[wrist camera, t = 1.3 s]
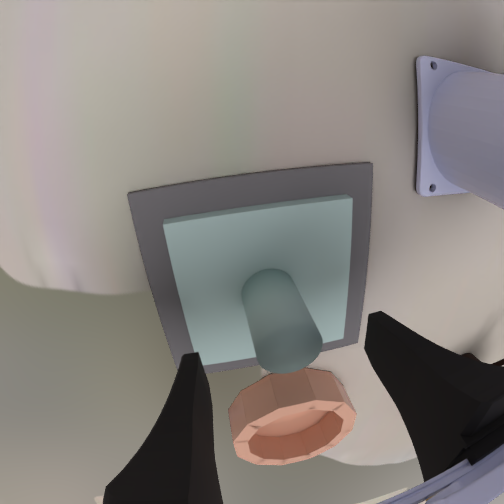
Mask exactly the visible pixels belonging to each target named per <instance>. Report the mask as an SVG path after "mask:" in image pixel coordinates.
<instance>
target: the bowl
mask: <svg viewBox="0 0 504 504" xmlns="http://www.w3.org/2000/svg"><path fill="white" fill-rule="evenodd" d="M228 412H229V419H230V426H231V432H232V438H233V443H234V447H235V450H236V453H237V456H238V457H240V458H242V459H245V460H247V461H249V462H251V463H254V464H259V465H284V464H288V463H293V462H298V461H302V460H306V459H310V458H312V457H314V456H316V455H318V454H320V453H322V452H324V451H326V450H328V449H330V448H332V447H334V446H336V445H337V444H338V443H339V442H340V441H341V440H342V439H343V438H344V437H345V436H346V435H347V434H348V433H349V432H351V431H352V429H353V425H354V422H355V418H356V411H355V409H354V407H353V405H352V403H351V401H350V399H349V397H348V395H347V393H346V391H345V389H344V387H343V385H342V384H341V383H340V382H339V381H338V379H337V378H336V377H335V376H334V375H333V374H332V373H331V372H328V371H321V370H315V369H309V368H303V369H300V370H298V371H295V372H291V373H285V374H278V373H275V374H270V375H268V376H266V377H264V378H263V379H261V380H259V381H257V382H256V383H254V384H252V385H250V386H248V387H247V388H245V389H243V390H241V391H240V393H239V394H238V396H237V397H236V399H235V400H234V402H233V403H232V405H231V406H230V408H229V409H228Z"/></svg>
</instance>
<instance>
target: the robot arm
mask: <svg viewBox="0 0 504 504" xmlns="http://www.w3.org/2000/svg"><path fill="white" fill-rule="evenodd" d="M430 63H432V65H433V69H432V68H431V66H430ZM416 68H417V86H418V163H417V182H416V191H417V193H418V194H419V195H421V196H424V197H427V196H438V195H448V194H459V193H473V194H475V195H477V196H479V197H481V198H483V199H485V200H487V201H489V202H491V203H493V204H495V205H496V206H498V207H500V208H502V209H504V74H497V73H492V72H489V71H486V70H482V69H479V68H475V67H472V66H468V65H464V64H460V63H457V62H452V61H448V60H444V59H439V58H435V57H430V56H419V57H418V58H417V60H416ZM431 184H432V187H431V189H430V190H429V187H430V185H431ZM364 349H365V351H366V354H367V356H368V358H369V361H370V363H371V365H372V367H373V369H374V370H375V372H376V374H377V375H378V377H379V379H380V380H381V382H382V383H383V385H384V387H385V388H386V390H387V391H388V393H389V395H390V396H391V398H392V399H393V401H394V403H395V404H396V406H397V408H398V410H399V412H400V414H401V416H402V419H403V421H404V423H405V425H406V428H407V430H408V433H409V435H410V438H411V440H412V443H413V446H414V448H415V451H416V454H417V457H418V460H419V464H420V467H421V471H422V474H423V478H424V483H422V484H420V485H418V486H416V487H414V488H412V489H409V490H408V491H405V492H403V493H401V494H399V495H396V496H394V497H392V498H389V499H387V500H384V501H382V502H380V503H377V504H418V503H420V502H422V501H424V500H426V499H428V498H430V497H431V498H430V499H428V500H427V501H426V503H425V504H488V503H489V502H491V501H492V500H494V499H495V498H496V497H498V496H499V495H500V494H501V493H503V492H504V367H502V366H496V365H492V364H487V363H483V362H480V361H476V360H473V359H470V358H467V357H464V356H461V355H459V354H456V353H454V352H452V351H449V350H447V349H445V348H443V347H441V346H439V345H437V344H435V343H433V342H431V341H429V340H428V339H426V338H424V337H422V336H421V335H419V334H417V333H416V332H414V331H412V330H411V329H409V328H407V327H406V326H404V325H403V324H401V323H400V322H398V321H396V320H395V319H393V318H392V317H390V316H389V315H387V314H385V313H384V312H382V311H378V312H375V313H371V314H369V316H368V324H367V332H366V339H365V346H364ZM212 411H213V410H212V401H211V394H210V387H209V383H208V380H207V377H206V374H205V371H204V367H203V364H202V361H201V358H200V355H199V352H194V353H188V354H183V356H182V357H181V361H180V365H179V368H178V372H177V375H176V378H175V380H174V383H173V386H172V389H171V391H170V394H169V396H168V398H167V401H166V403H165V405H164V407H163V409H162V412H161V414H160V416H159V418H158V419H157V421H156V423H155V425H154V427H153V428H152V430H151V432H150V434H149V435H148V437H147V438H146V440H145V442H144V443H143V444H142V446H141V447H140V449H139V450H138V451H137V453H136V454H135V455H134V457H133V458H132V459H131V460H130V461H129V463H128V464H127V465H126V466H125V468H124V469H123V470H122V471H121V472H120V473H119V474H118V475H117V476H116V477H115V478H114V479H113V480H112V481H111V482H110V483H109V484H108V485H107V486H106V489H105V494H104V498H103V504H223V500H222V496H221V491H220V485H219V480H218V475H217V468H216V462H215V454H214V435H213V412H212ZM434 495H435V496H434ZM432 496H433V497H432Z"/></svg>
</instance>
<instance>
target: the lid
mask: <svg viewBox="0 0 504 504" xmlns="http://www.w3.org/2000/svg"><path fill="white" fill-rule="evenodd" d="M352 206H353V198H352V197H350V196H349V195H347V194H344V195H334V196H326V197H317V198H308V199H300V200H292V201H284V202H276V203H269V204H261V205H254V206H247V207H240V208H233V209H226V210H219V211H213V212H206V213H200V214H193V215H187V216H181V217H175V218H169V219H164V222H163V228H164V233H165V237H166V242H167V246H168V251H169V255H170V260H171V264H172V268H173V273H174V277H175V281H176V285H177V289H178V293H179V297H180V301H181V305H182V309H183V313H184V316H185V320H186V324H187V328H188V331H189V335H190V339H191V342H192V346H193V349H194V352H199V355H200V358H201V361H202V364H203V365H210V364H217V363H223V362H230V361H236V360H242V359H248V358H253V357H257V361H258V363H259V364H260V366H261V367H262V368H264V369H265V370H267V371H269V372H272V373H278V374H285V373H291V372H295V371H298V370H300V369H303V368H304V367H306V366H308V365H309V364H310V363H312V362H313V361H314V360H315V359H316V358H317V356H318V355H319V353H320V352H321V349H322V345H323V343H326V342H331V341H335V340H339V339H343V337H344V328H345V318H346V308H347V297H348V285H349V271H350V255H351V236H352Z"/></svg>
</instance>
